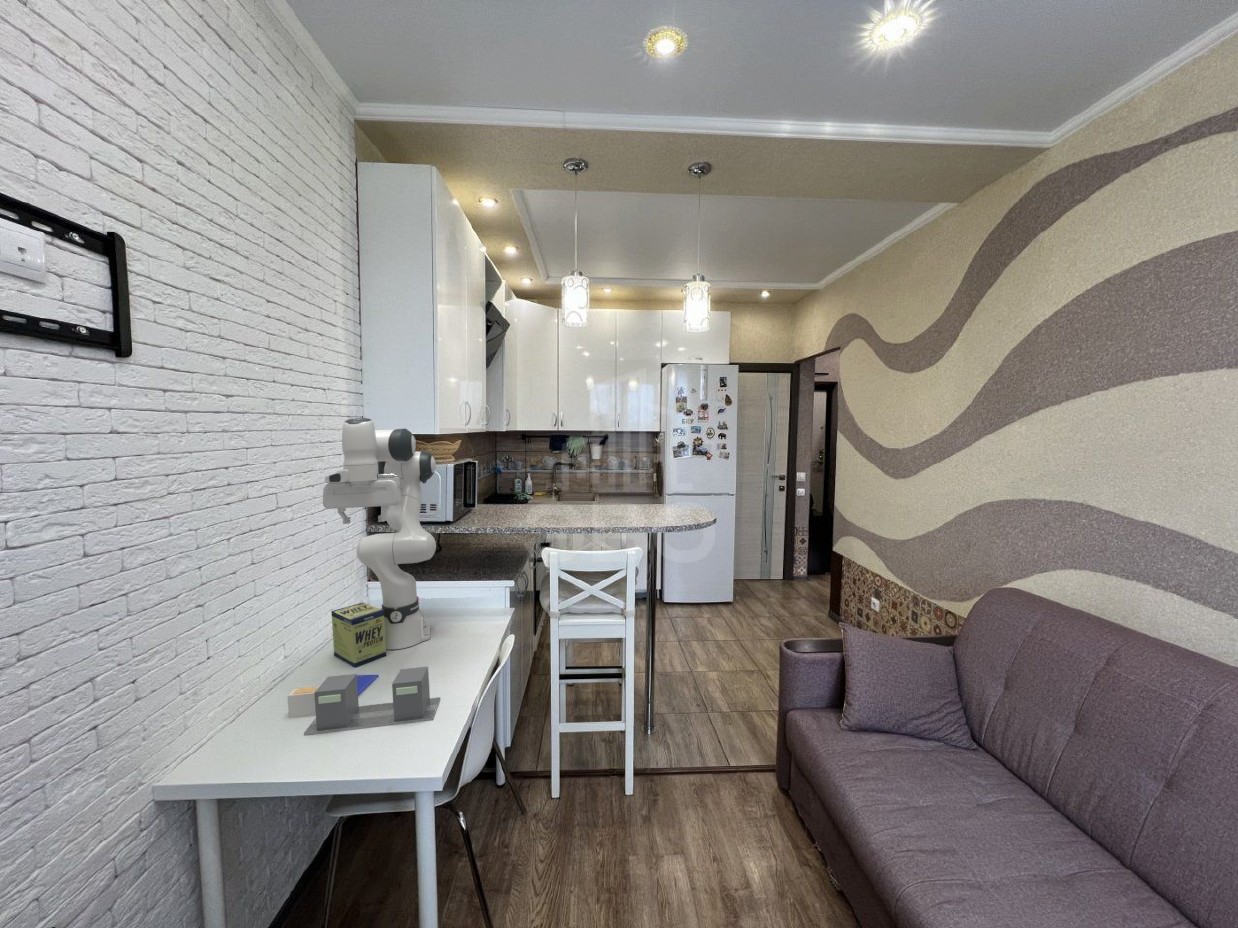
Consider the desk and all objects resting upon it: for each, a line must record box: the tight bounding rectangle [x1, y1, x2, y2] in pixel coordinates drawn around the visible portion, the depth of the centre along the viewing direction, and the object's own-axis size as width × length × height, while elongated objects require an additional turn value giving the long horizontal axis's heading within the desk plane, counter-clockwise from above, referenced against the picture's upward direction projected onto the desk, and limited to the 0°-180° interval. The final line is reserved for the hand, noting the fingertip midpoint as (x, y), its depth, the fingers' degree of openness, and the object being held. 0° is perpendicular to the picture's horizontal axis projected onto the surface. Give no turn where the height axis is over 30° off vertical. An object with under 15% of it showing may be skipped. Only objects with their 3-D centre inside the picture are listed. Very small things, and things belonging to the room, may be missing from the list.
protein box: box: [330, 602, 387, 668], centre depth 163 cm, size 10×16×16 cm
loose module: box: [287, 686, 319, 719], centre depth 130 cm, size 4×7×6 cm, turn 100°
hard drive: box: [357, 673, 380, 699], centre depth 142 cm, size 2×8×12 cm
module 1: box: [314, 673, 360, 729], centre depth 125 cm, size 8×7×10 cm
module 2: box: [391, 666, 431, 720], centre depth 128 cm, size 8×7×10 cm
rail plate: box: [303, 696, 441, 736], centre depth 127 cm, size 10×30×1 cm, turn 100°
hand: (364, 522), depth 141 cm, fingers open, 8 cm apart
